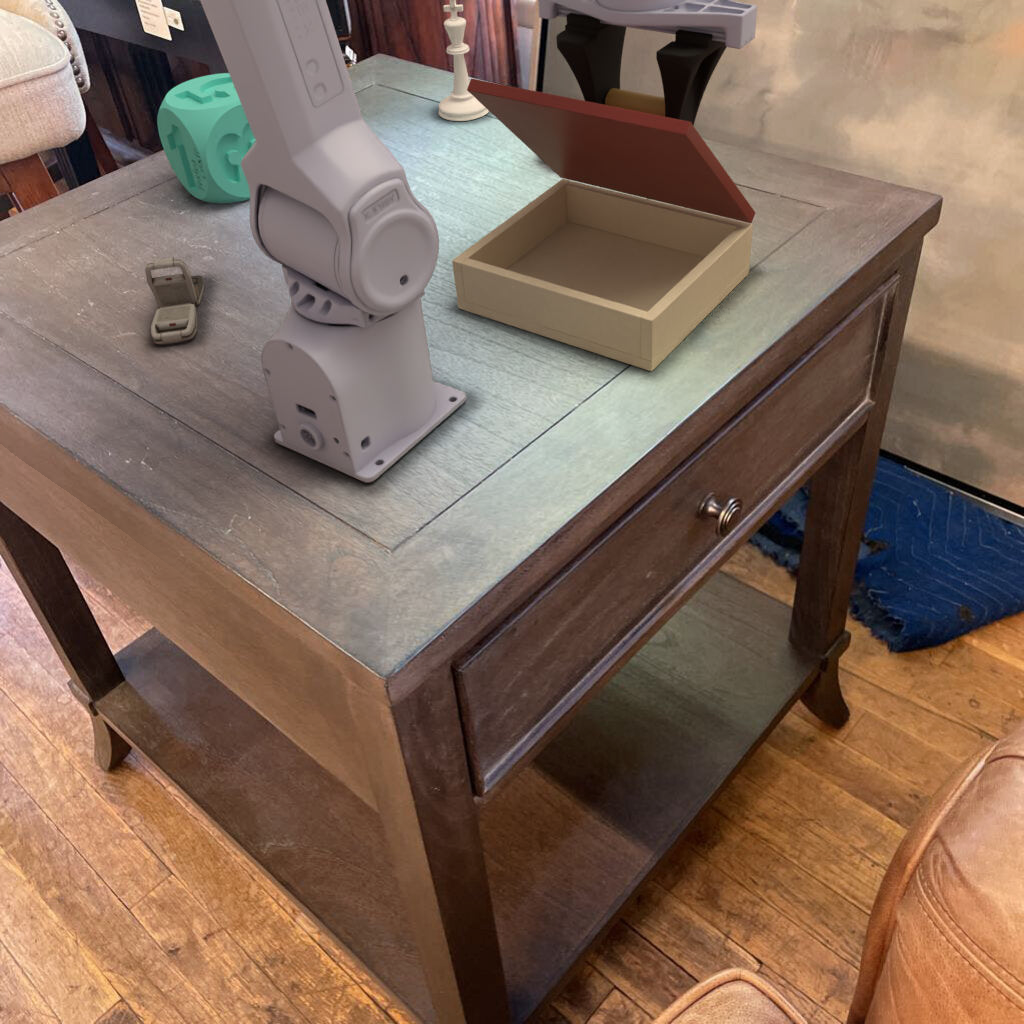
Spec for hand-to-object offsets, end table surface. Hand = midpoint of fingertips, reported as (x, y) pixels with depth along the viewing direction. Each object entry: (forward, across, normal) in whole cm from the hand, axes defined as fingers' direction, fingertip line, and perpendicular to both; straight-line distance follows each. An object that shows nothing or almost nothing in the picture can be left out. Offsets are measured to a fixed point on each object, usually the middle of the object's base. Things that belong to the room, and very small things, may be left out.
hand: (642, 139), depth 72 cm
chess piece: (+9, +29, -16) cm, 34 cm away
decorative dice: (+9, +38, +5) cm, 39 cm away
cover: (0, 0, +4) cm, 4 cm away
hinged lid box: (+9, 0, +5) cm, 10 cm away
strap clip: (+9, +26, +22) cm, 35 cm away
